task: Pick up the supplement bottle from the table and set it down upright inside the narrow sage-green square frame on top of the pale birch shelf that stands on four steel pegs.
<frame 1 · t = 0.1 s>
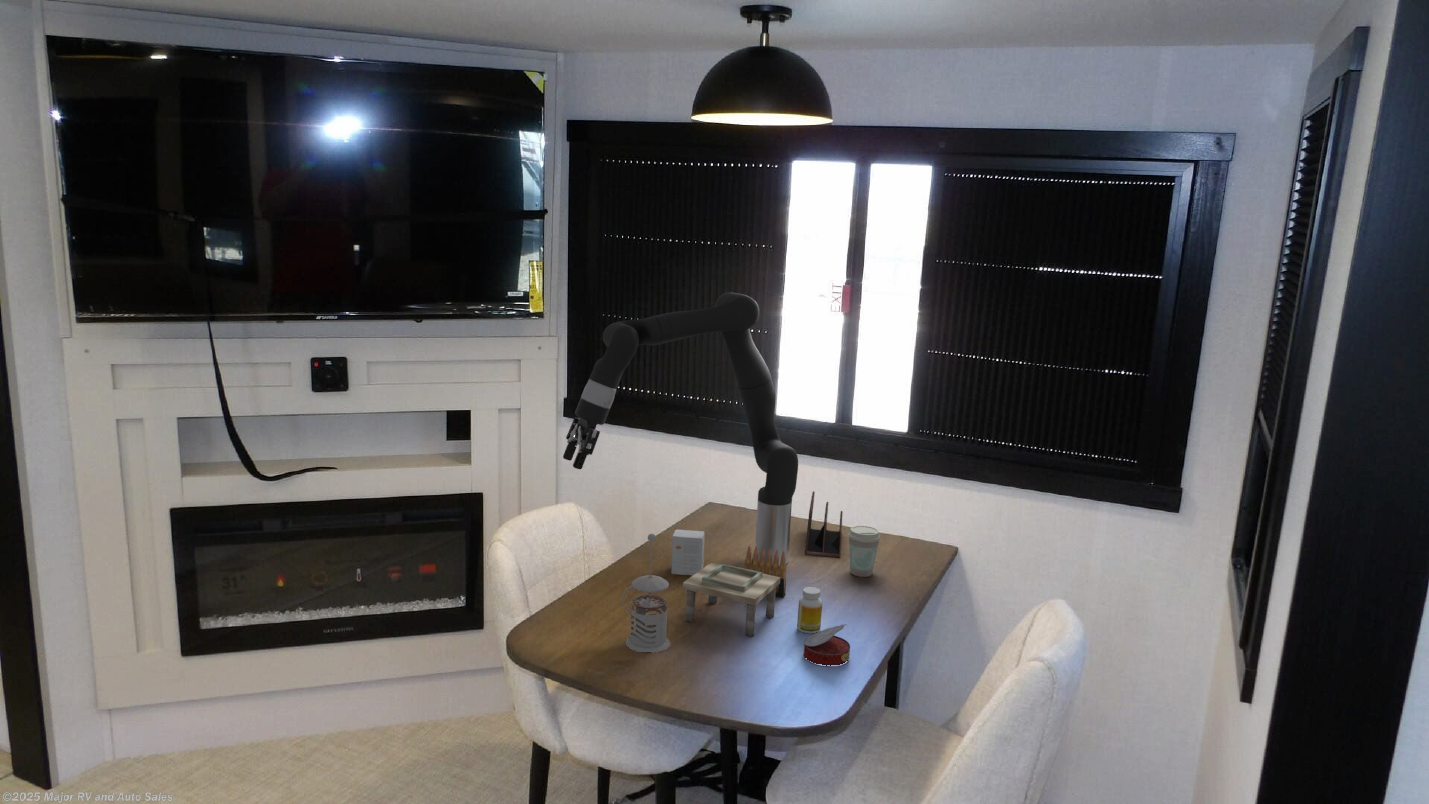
hand: (571, 463, 233), 31 cm above the table, tool tilted 20°, fingers open, 8 cm apart
small box: (687, 572, 253), on the table
coffee cup: (861, 573, 258), on the table
shelf stand: (730, 618, 225), on the table
ammunition clip: (763, 594, 241), on the table
supplement bottle: (808, 630, 221), on the table
letter holder: (823, 545, 279), on the table
canned food: (826, 658, 208), on the table
french press: (644, 642, 211), on the table
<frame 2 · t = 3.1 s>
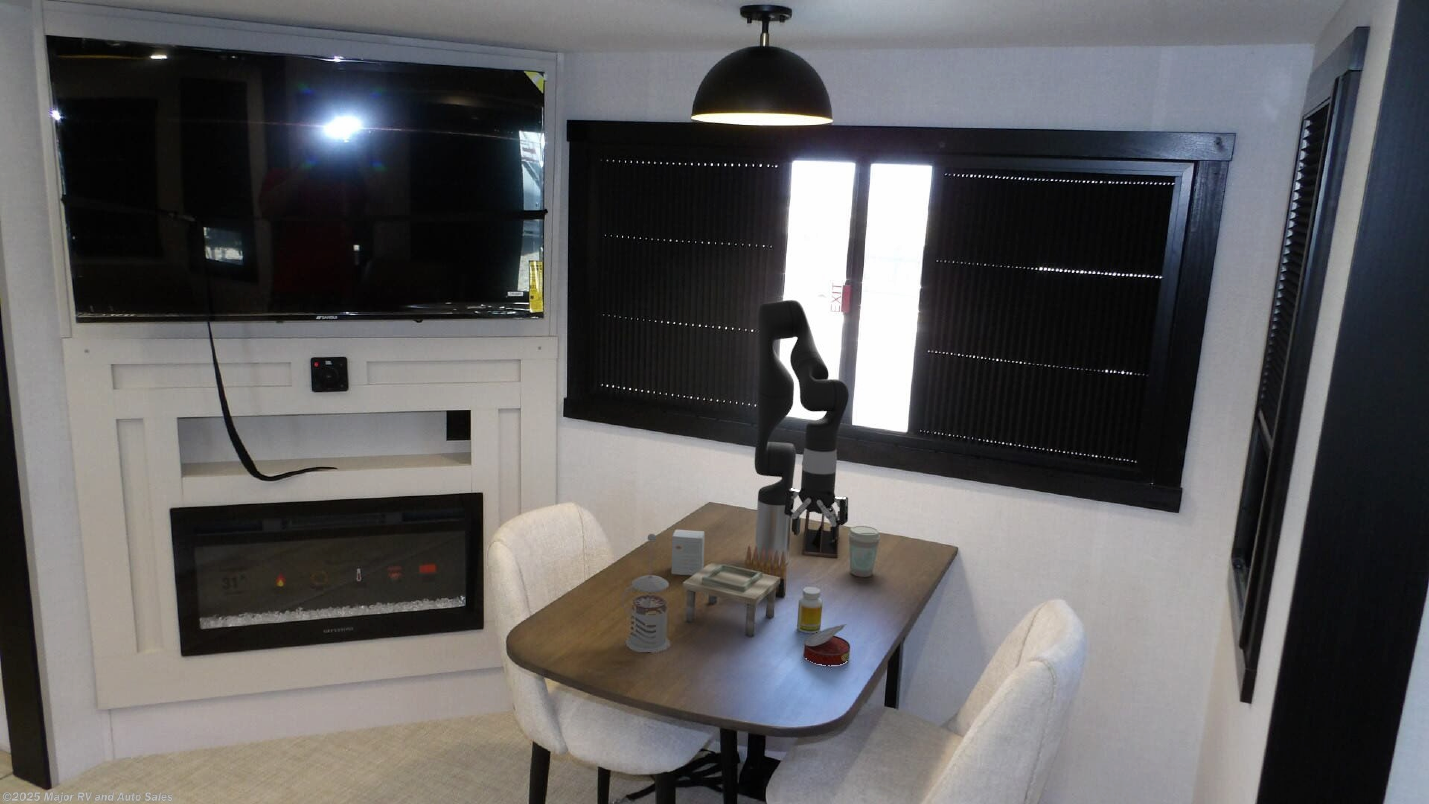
hand: (814, 537, 217), 22 cm above the table, tool pointing down, fingers open, 8 cm apart
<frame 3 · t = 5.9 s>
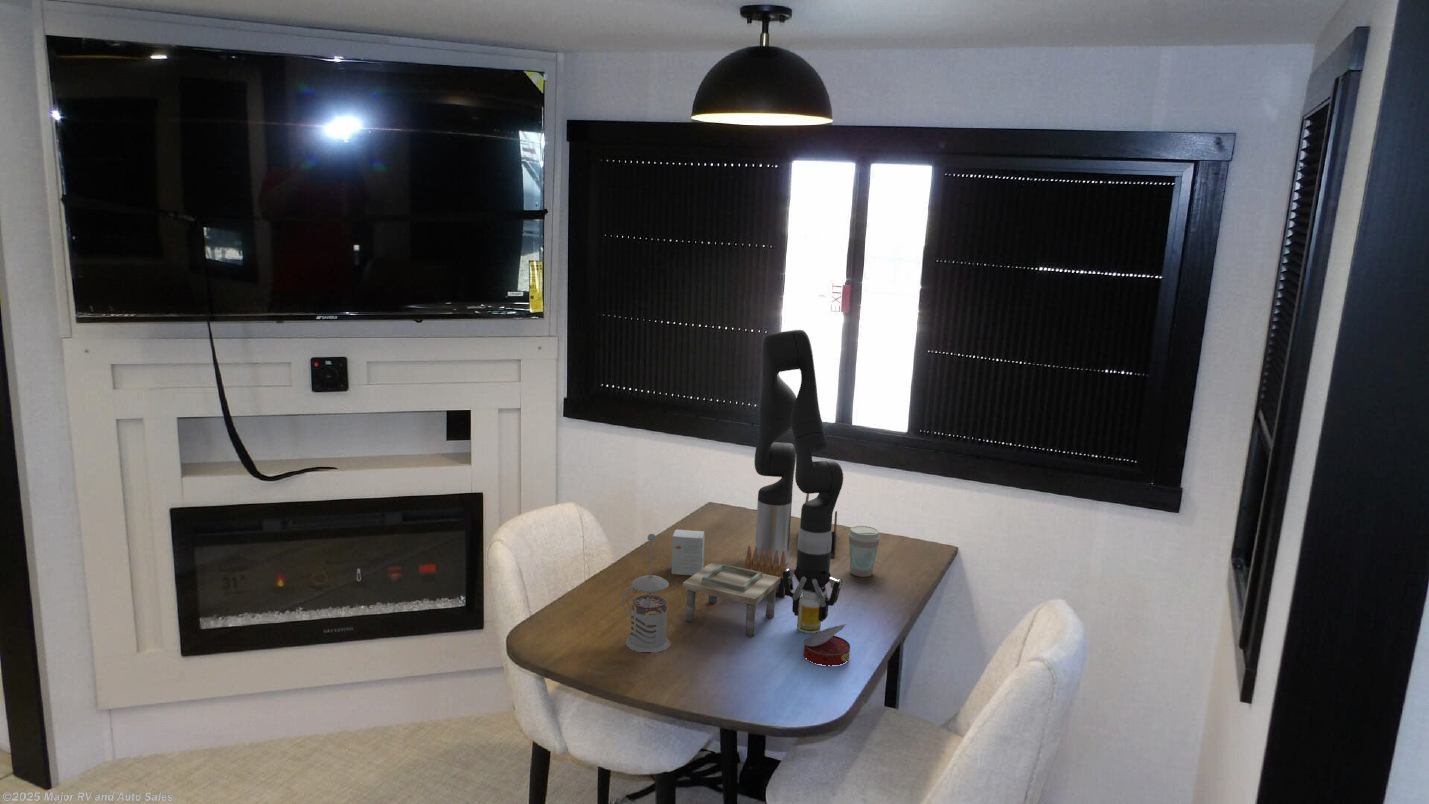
hand: (809, 617, 221), 3 cm above the table, tool pointing down, fingers closed on supplement bottle, 5 cm apart
supplement bottle: (808, 630, 221), on the table, touching gripper
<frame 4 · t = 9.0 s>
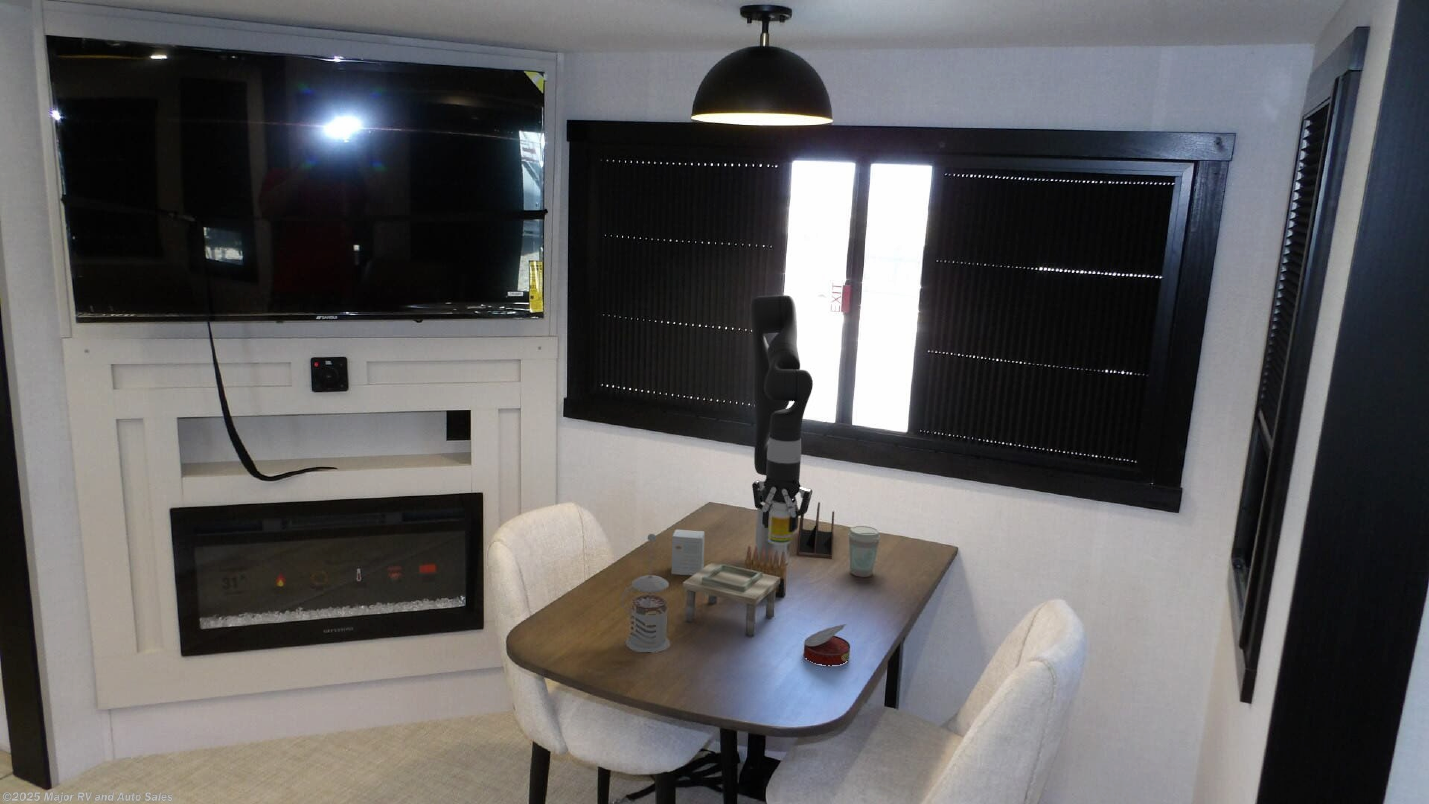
hand: (779, 529, 219), 23 cm above the table, tool pointing down, fingers closed on supplement bottle, 5 cm apart
supplement bottle: (778, 542, 219), point 20 cm above the table, touching gripper
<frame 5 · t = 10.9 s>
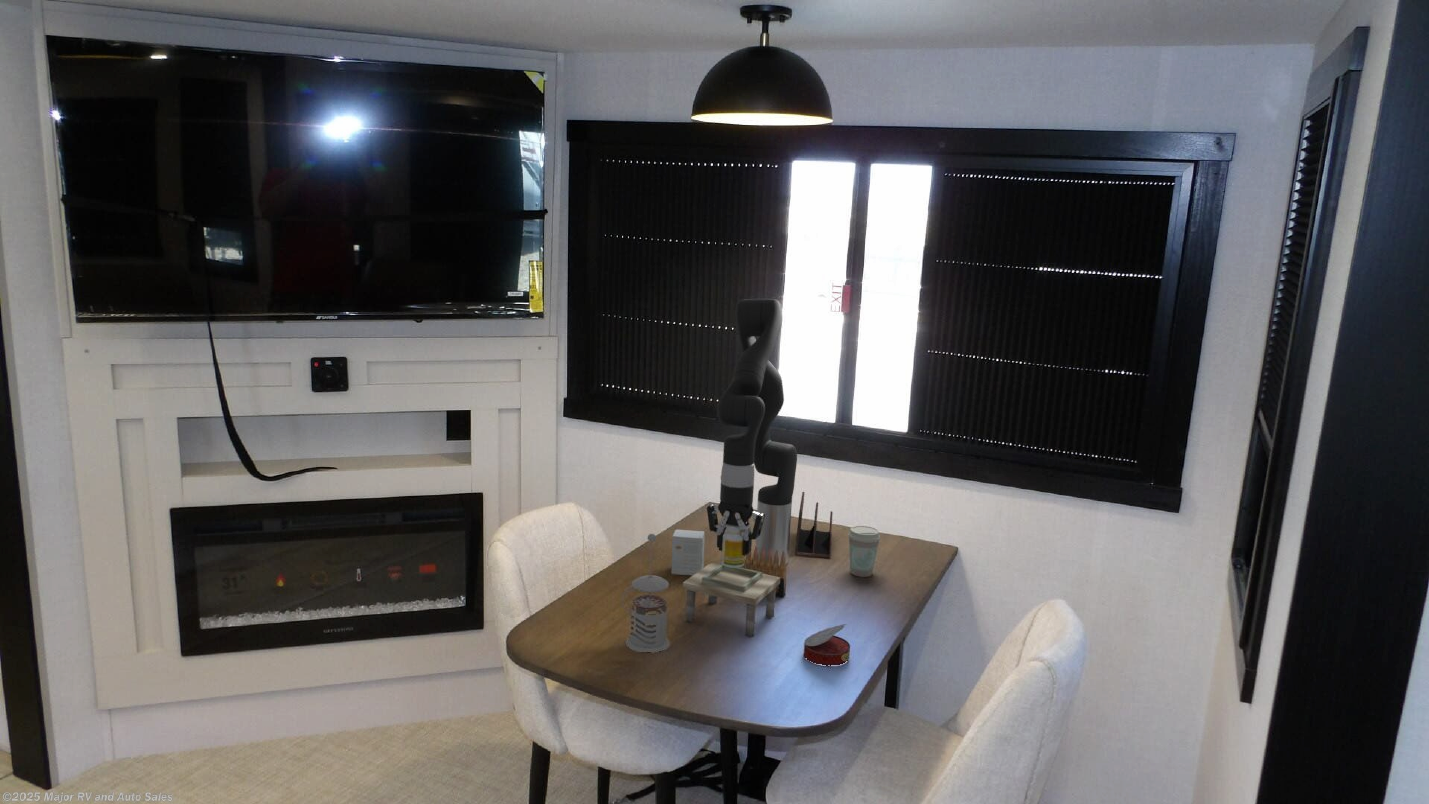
hand: (733, 551, 222), 16 cm above the table, tool pointing down, fingers closed on supplement bottle, 5 cm apart
supplement bottle: (732, 565, 223), point 13 cm above the table, touching gripper
when the fingers open (14 cm above the table, at t = 12.2 s): supplement bottle drops 2 cm, resting on shelf stand.
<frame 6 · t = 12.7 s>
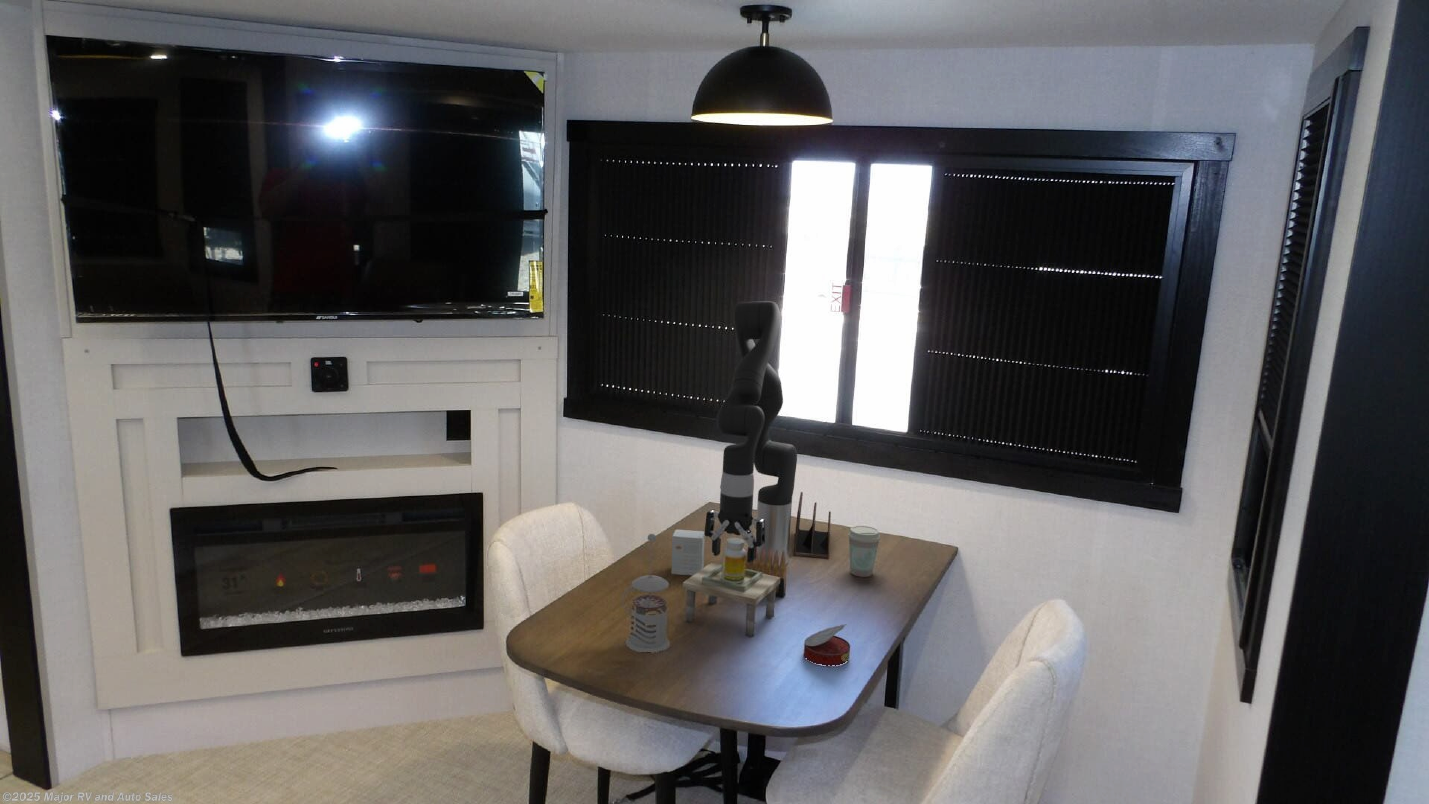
hand: (733, 558, 222), 15 cm above the table, tool pointing down, fingers open, 8 cm apart
supplement bottle: (732, 580, 223), point 9 cm above the table, touching shelf stand
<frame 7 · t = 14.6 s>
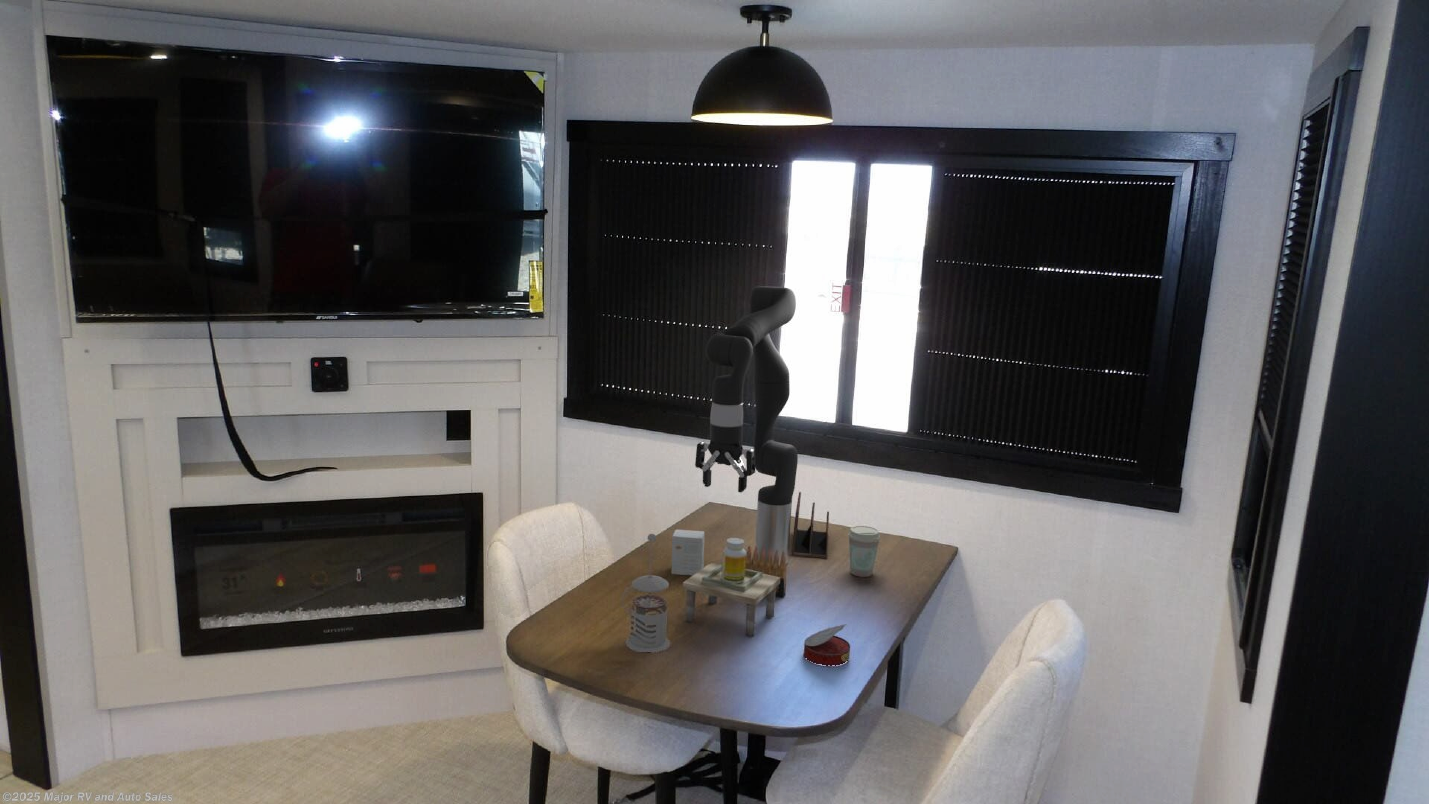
hand: (724, 488, 225), 29 cm above the table, tool pointing down, fingers open, 8 cm apart
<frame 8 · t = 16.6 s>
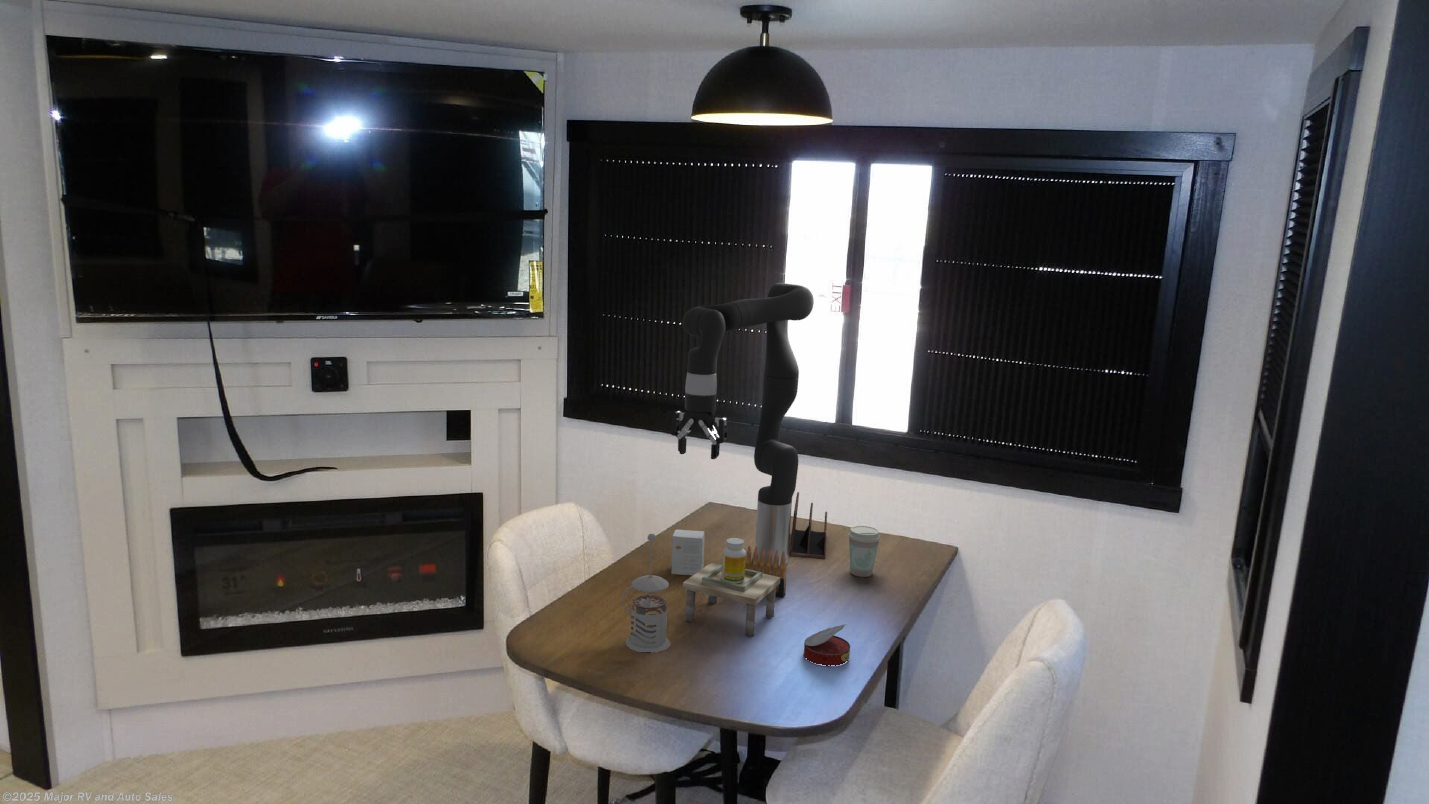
hand: (698, 456, 236), 34 cm above the table, tool pointing down, fingers open, 8 cm apart
at the end: supplement bottle 0.1 cm off-centre on the shelf stand, point 9.3 cm above the shelf stand's base; supplement bottle tilted 0°; the gripper is holding nothing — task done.
